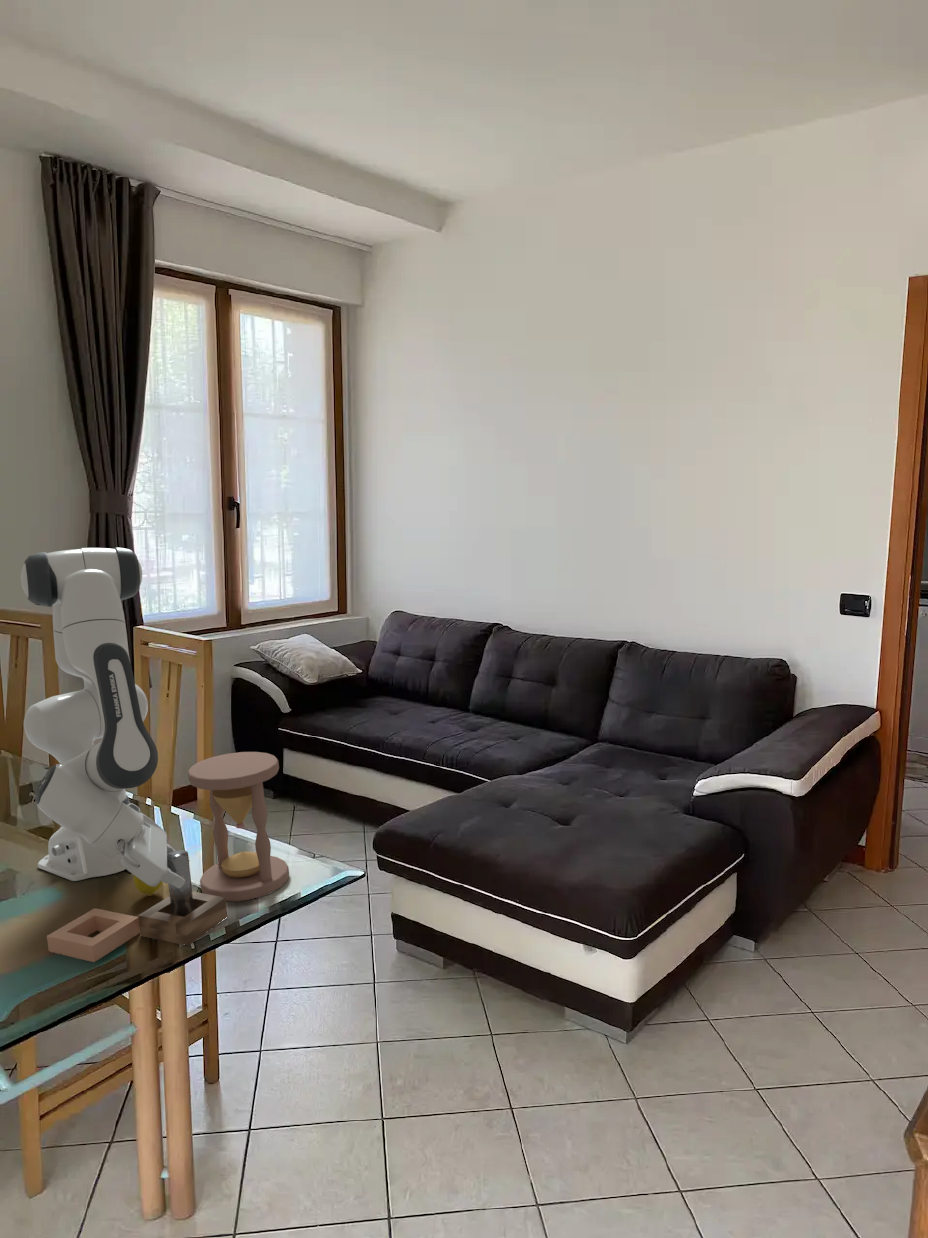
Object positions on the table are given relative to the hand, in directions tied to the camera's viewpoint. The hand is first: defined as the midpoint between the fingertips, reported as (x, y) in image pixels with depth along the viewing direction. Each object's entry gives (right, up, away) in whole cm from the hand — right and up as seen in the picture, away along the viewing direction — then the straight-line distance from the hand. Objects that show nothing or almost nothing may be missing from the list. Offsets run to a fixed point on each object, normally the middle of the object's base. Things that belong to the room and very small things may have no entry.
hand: (182, 873), depth 171 cm
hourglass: (+7, -7, +19) cm, 21 cm away
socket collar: (-15, -12, -2) cm, 19 cm away
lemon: (-11, -9, +16) cm, 21 cm away
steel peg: (0, -8, +1) cm, 8 cm away
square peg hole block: (0, -10, +2) cm, 10 cm away
